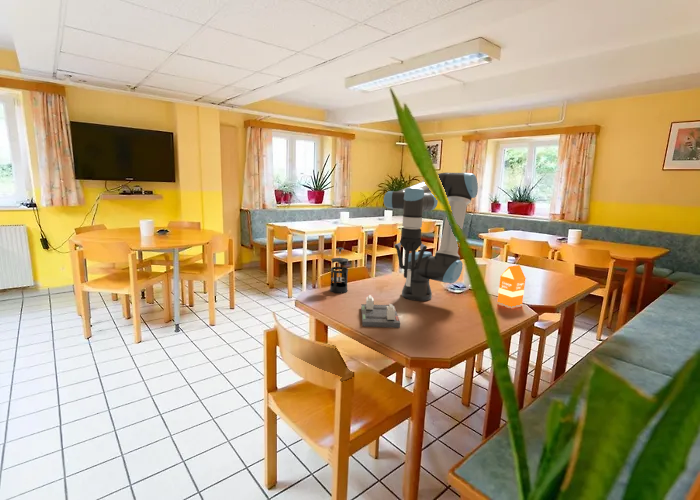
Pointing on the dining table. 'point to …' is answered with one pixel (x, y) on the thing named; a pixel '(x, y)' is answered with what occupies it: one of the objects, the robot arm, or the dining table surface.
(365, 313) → the switch board
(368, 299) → the on handle
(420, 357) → the dining table surface
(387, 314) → the handle
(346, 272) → the french press
